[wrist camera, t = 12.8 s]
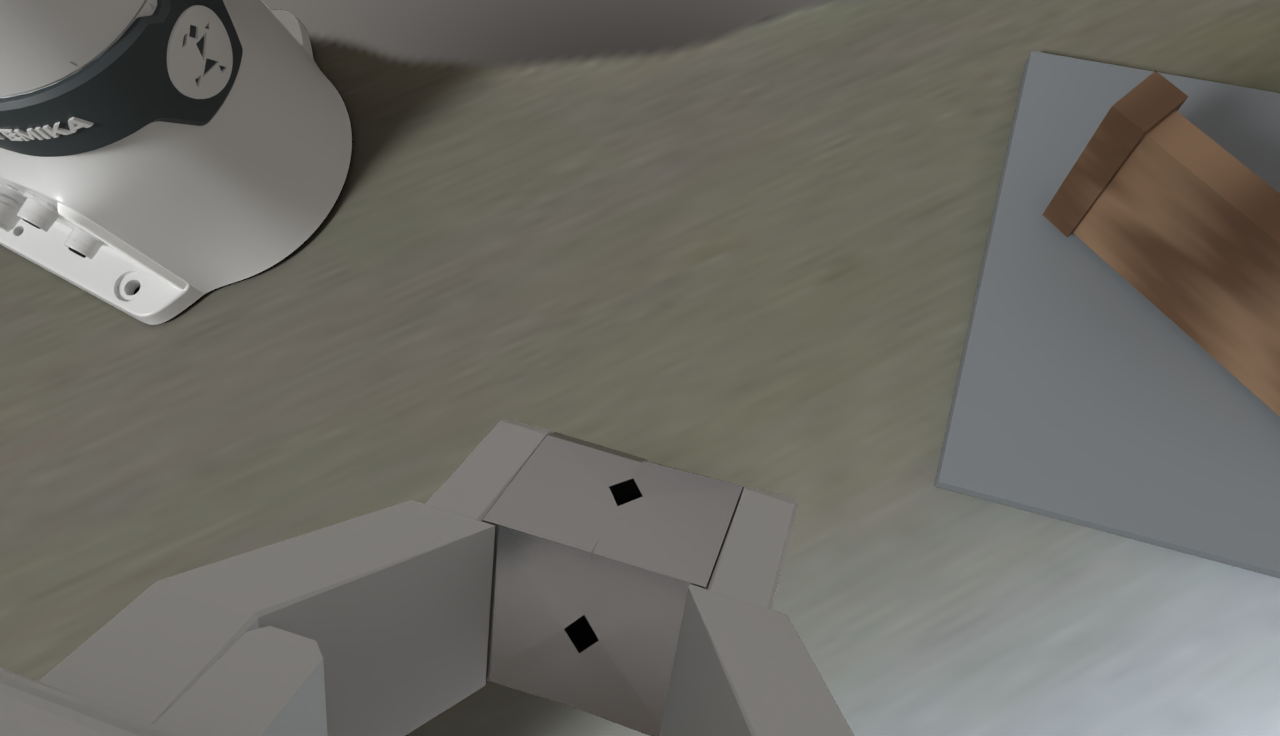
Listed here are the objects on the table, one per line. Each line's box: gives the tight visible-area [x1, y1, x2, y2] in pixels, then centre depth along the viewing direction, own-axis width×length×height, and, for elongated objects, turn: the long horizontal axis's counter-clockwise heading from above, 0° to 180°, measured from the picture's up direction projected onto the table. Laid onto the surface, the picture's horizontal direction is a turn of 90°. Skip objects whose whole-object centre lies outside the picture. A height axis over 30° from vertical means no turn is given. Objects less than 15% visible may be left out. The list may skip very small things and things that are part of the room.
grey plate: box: [934, 51, 1280, 578], centre depth 41 cm, size 14×22×1 cm, turn 163°
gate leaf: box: [1042, 71, 1280, 417], centre depth 35 cm, size 15×2×8 cm, turn 38°
